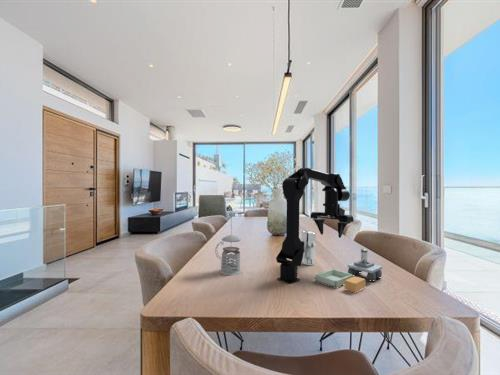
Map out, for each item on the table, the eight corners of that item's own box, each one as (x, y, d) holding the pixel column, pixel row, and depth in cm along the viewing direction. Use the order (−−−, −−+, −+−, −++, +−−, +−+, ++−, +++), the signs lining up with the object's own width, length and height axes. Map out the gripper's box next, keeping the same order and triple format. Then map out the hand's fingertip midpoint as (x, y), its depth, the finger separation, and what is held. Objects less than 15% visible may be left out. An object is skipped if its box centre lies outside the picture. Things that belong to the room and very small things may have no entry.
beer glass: (298, 264, 126) (299, 232, 125) (303, 260, 132) (303, 230, 132) (313, 266, 122) (314, 233, 122) (317, 262, 129) (317, 231, 128)
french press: (239, 276, 109) (240, 214, 108) (211, 273, 111) (212, 213, 111) (244, 268, 118) (245, 211, 118) (219, 266, 120) (219, 211, 120)
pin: (365, 266, 108) (365, 250, 108) (359, 265, 110) (359, 249, 110) (368, 265, 110) (368, 249, 110) (362, 264, 111) (362, 248, 111)
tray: (336, 288, 97) (336, 281, 97) (315, 281, 104) (315, 274, 103) (353, 281, 104) (353, 274, 104) (332, 274, 111) (333, 268, 111)
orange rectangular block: (355, 293, 93) (355, 283, 93) (344, 290, 96) (345, 280, 96) (365, 288, 97) (365, 279, 97) (354, 285, 100) (354, 276, 100)
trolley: (371, 283, 102) (371, 268, 102) (347, 276, 110) (347, 262, 110) (382, 277, 108) (382, 264, 108) (358, 271, 116) (358, 258, 116)
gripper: (360, 202, 119) (359, 237, 119) (323, 200, 133) (323, 231, 133) (346, 202, 112) (346, 240, 112) (310, 200, 126) (309, 233, 126)
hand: (330, 236), depth 121 cm, fingers open, 9 cm apart
